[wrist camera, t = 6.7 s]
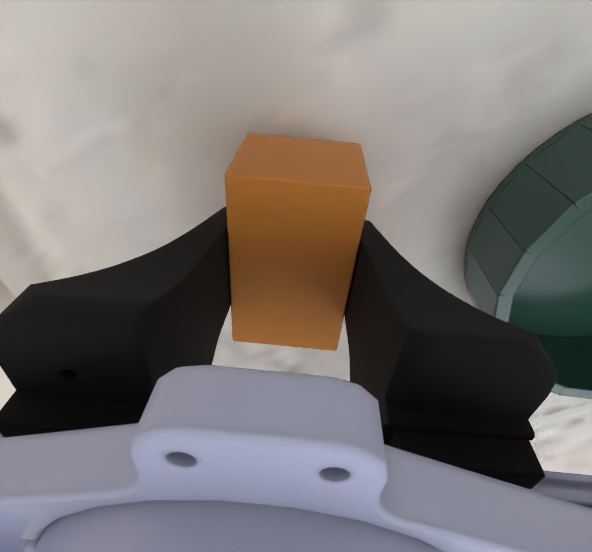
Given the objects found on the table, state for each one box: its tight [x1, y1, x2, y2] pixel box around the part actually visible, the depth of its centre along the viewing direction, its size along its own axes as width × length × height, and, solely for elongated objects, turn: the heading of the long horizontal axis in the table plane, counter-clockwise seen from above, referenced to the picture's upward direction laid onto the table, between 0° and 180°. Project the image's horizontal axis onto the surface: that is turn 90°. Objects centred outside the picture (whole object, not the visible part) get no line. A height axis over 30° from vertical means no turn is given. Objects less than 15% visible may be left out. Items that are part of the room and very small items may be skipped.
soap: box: [225, 133, 371, 351], centre depth 12 cm, size 6×4×3 cm, turn 176°
